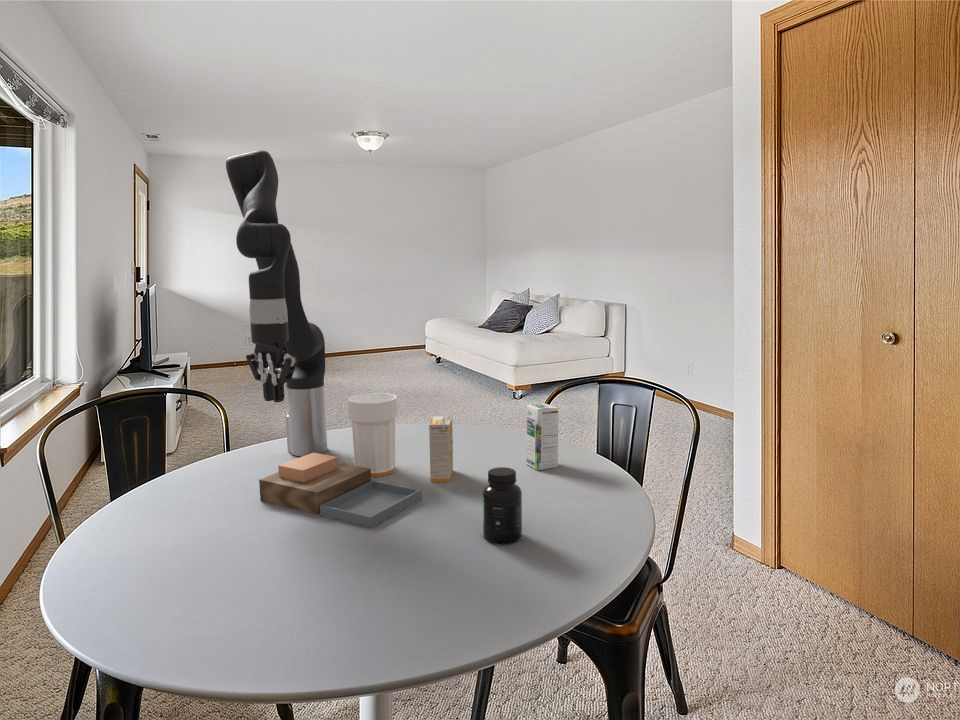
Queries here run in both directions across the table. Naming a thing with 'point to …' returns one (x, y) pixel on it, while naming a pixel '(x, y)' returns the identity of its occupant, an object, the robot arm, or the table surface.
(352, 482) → the walnut platform
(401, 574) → the table surface
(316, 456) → the terracotta tile
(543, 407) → the syrup box
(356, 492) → the slate tray
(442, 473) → the supplement box
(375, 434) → the cup
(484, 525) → the supplement bottle
